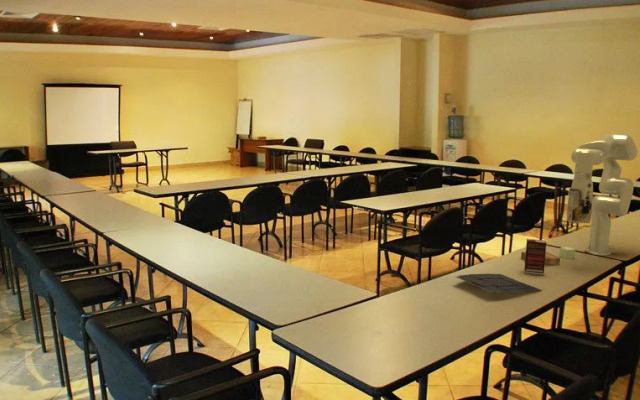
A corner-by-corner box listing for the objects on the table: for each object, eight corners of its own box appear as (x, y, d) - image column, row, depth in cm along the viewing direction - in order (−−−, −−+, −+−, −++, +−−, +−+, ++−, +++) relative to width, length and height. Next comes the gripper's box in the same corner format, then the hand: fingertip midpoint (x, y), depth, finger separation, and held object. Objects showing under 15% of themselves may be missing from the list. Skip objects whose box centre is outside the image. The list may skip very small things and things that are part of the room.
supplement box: (542, 272, 244) (546, 240, 241) (543, 275, 240) (547, 242, 237) (523, 270, 247) (526, 238, 244) (524, 273, 243) (527, 240, 240)
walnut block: (542, 258, 269) (543, 250, 268) (559, 265, 256) (560, 258, 255) (520, 259, 266) (521, 252, 265) (536, 267, 253) (537, 259, 253)
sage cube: (567, 256, 272) (568, 247, 271) (574, 258, 267) (575, 249, 266) (559, 256, 271) (560, 247, 270) (565, 259, 266) (566, 250, 265)
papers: (450, 281, 227) (452, 273, 226) (498, 279, 241) (500, 271, 241) (492, 300, 206) (493, 291, 205) (542, 296, 220) (543, 288, 219)
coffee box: (584, 220, 253) (588, 188, 250) (590, 223, 247) (594, 190, 244) (565, 220, 254) (569, 188, 251) (570, 223, 248) (574, 190, 245)
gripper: (603, 178, 239) (598, 215, 242) (576, 173, 255) (573, 207, 259) (589, 178, 237) (585, 215, 240) (563, 173, 254) (560, 208, 257)
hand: (579, 211), depth 249 cm, fingers closed on coffee box, 7 cm apart
